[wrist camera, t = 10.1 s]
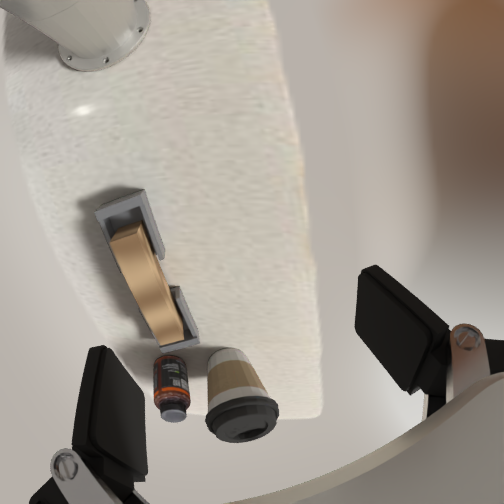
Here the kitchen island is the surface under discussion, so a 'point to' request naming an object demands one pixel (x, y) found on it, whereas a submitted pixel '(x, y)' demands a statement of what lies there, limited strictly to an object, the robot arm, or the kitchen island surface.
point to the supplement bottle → (171, 388)
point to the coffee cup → (237, 399)
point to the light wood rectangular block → (147, 282)
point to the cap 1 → (129, 219)
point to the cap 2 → (188, 325)
